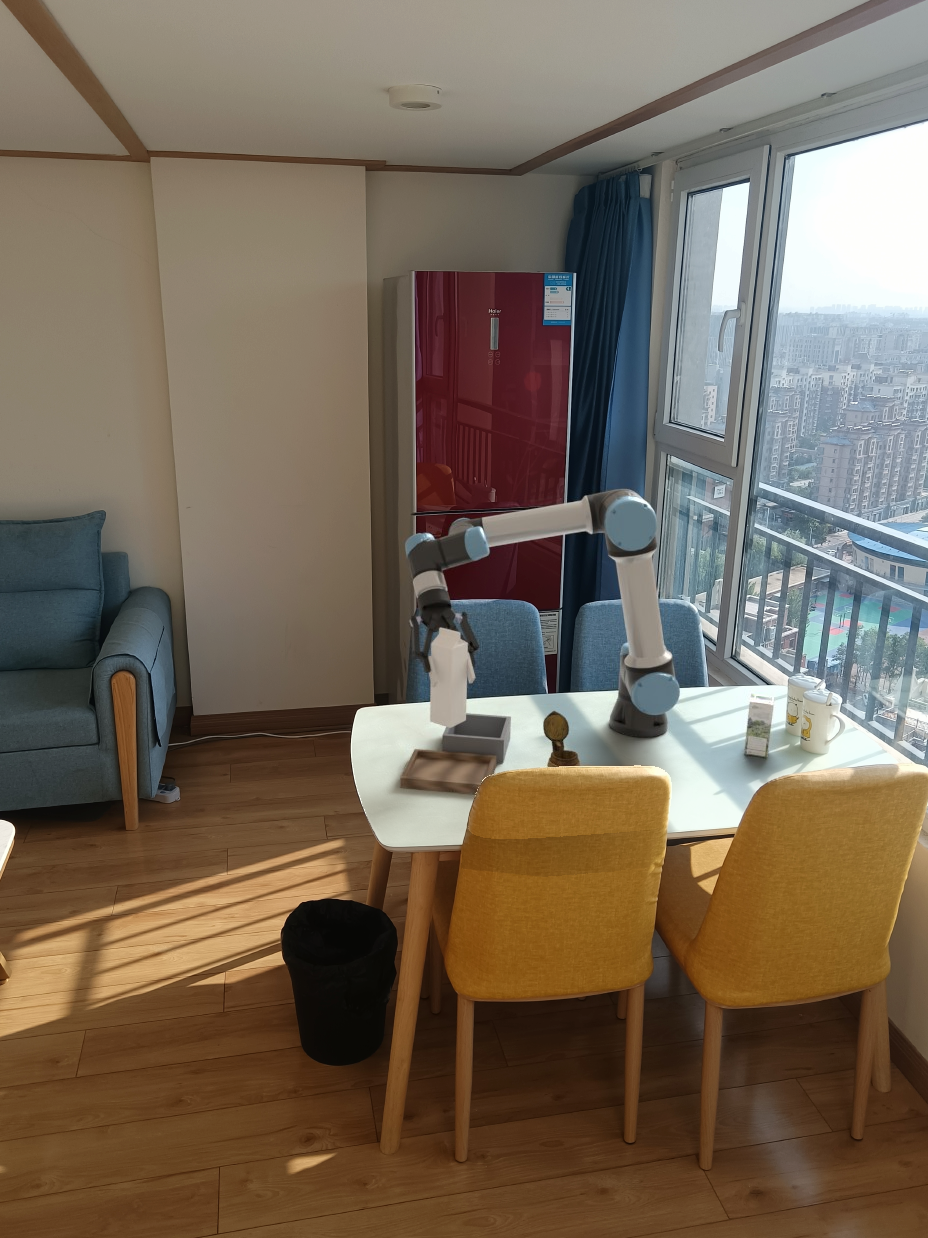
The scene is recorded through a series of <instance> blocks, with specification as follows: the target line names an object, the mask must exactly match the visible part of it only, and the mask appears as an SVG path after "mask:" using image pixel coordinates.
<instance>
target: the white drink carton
mask: <svg viewBox="0 0 928 1238" xmlns="http://www.w3.org/2000/svg"><path fill="white" fill-rule="evenodd" d="M774 703H775V697H774V696H769V695H761V694H753V693H751V694H750V699H749V706H748V714H747V722H746V724H747V725H746V730H745V731H746V733H745V740H744V751H743V752H744V753H743V754H744V755H746V756H752V757H753V756H754V757H760V758H768V756H769V755H768V754H769V748H770V747H769V746H770V741H771V740H770V738H771V729H772V723H773V722H772V721H773V716H774V715H773V713H774Z"/></svg>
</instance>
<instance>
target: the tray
mask: <svg viewBox="0 0 928 1238" xmlns="http://www.w3.org/2000/svg"><path fill="white" fill-rule="evenodd" d="M496 760H497V756H495V755H483V754H470V753H458V752H446V751H442V750H433V749H420V748H414V749H413V752H412V753H411V756H410V757H409V760H408V762H407V764H406V765H405V768H404V770H403V771H402V774H401V775H400V780H399V783H400V788H401V789H411V790H422V791H423V790H424V791H435V792H442V793H443V792H444V793H456V794H468V793H469V794H468V795H476V794H475V793H476V792H477V789H478V787H479V786H480V784H481V782H482V780H483V779H484V778H485V777H487V776H489V775H492V774H494V775H495V771H496V767H497V763H496ZM470 793H472V794H470Z"/></svg>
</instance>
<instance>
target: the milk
mask: <svg viewBox="0 0 928 1238" xmlns="http://www.w3.org/2000/svg"><path fill="white" fill-rule="evenodd" d="M460 633H461V631H459V632H457V631H453V630H449V629H445V628H439V631H438V634H437V636H436V637H435V638H434V639H433V640H432V641H431V644H430V656H432V658H433V663H434V667H435V671H436V675H437V679H438V683H437V685H436V687H432V685H431V684H430V694H429V696H430V699H429V700H430V704H429V705H430V708H429V710H430V713H429V715H430V716H429V721H430V723H433V724H438V725H440V726H442V727H445V728H446V727H449V728H451V727H453V726H455V725H457V724H459V723H461V722H463V721H465V720H466V713H467V698H468V697H467V693H468V691H467V690H468V689H467V688H468V677H467V655H468V643H467V642H465V641H463V640H462V639H460Z"/></svg>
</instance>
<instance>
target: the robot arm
mask: <svg viewBox="0 0 928 1238" xmlns="http://www.w3.org/2000/svg"><path fill="white" fill-rule="evenodd" d="M657 530H658V519H657V515H656V512H655V510H654V509H653V507H652V506H651V504H650V502H647V501H646V499H644V498H642V496H641V495H640V494H639V493H637V492H635V491H634V490H631V489H629V488H619V489H618V488H617V489H612V490H608V491H603V492H597V493H592V494H588V495H584V496H583V497H582V499H581V500H577V501H573V502H565V503H560V504H553V505H548V506H547V505H546V506H542V507H537V508H536V507H535V508H531V509H525V510H518V511H513V512H507V513H501V514H496V515H490V516H484V517H479V518H474V519H473V518H472V519H470V518H467V517H466V518H465V517H462V518H458V519H456V520H455V521H453V522H452V523H451V525H450V527H449V529H448V535H446V536H443V537H440V538H435V537H434V536H433V534H431V533H429V532H423V533H420V532H419V533H415V534H413V535H411V536H410V537H408V538H407V539H406V541H405V544H404V547H405V549H404V550H405V554H406V562H407V564H408V568H409V573H410V576H411V577H410V578H411V580H412V583H413V589H414V592H415V597H416V602H417V606H418V610H419V616H415V615H411V617H410V619H409V622H408V625H409V627H410V630H411V651H412V652H411V654H412V655H411V658H412V659H414V660H419V662H420V663H422V667H423V671H424V673H425V674H428V675H429V680H430V686H431V685H432V687H436V685H437V683H438V679H437V675H436V671H435V667H434V663H433V658H432V656H431V655H429V652H430V650H431V643H432V641H433V635H434V633H439V628H445V629H449V630H453V631H457V632H460V631H459V629H458V627H457V625H456V623H455V622H454V620H456V621H457V623H458V624H459V625H460V629H461V631H462V633H463V635H462V633H461V632H460V639H462V640H463V641H465V642H467V643H468V655H467V681H468V684H473V683H474V682H475V679H476V675H475V671H474V668H475V666H476V660H475V656H474V654H477V653H478V651H479V649H480V644H479V642H478V639H477V638H476V636H475V633H474V631H473V629H472V627H471V625H470V623H469V621H468V620H469V619H468V613H467V612H466V611H462V612H461V613H458V612H457V613H456V611H454V609H453V607H452V603H451V599H450V596H449V595H450V594H449V592H448V586H447V582H446V579H445V575H444V572H443V571H444V570H448V569H450V568H454V567H458V566H460V565H465V564H467V563H471V562H475V561H478V560H481V559H483V558H485V557H487V556H489V555H490V548H491V547H496V546H497V547H498V546H502V545H508V544H509V545H510V544H515V543H521V542H526V541H527V542H528V541H532V540H539V539H544V538H549V537H550V538H551V537H556V536H563V535H570V534H575V533H581V532H586V533H588V534H590V535H593V534H598V533H601V534H603V533H604V535H605V542H606V549H607V555H608V557H610V558H611V559H612V560H614V562H615V565H616V566H615V567H616V572H617V579H618V580H617V581H618V586H619V591H620V599H621V600H620V601H621V607H622V612H623V618H624V619H623V620H624V626H625V633H626V638H627V639H626V640H627V642H625V643H623V644H622V646H621V648H620V649H621V650H620V652H619V656H620V660H619V675H618V676H619V677H618V689H617V690H618V692H617V693H618V694H617V699H616V701H615V703H614V704H613V705H614V706H613V707H612V710H611V713H610V715H609V727H610V728H611V729H612V730H614V732H615V731H616V732H617V733H620V734H623V735H625V736H630V737H635V738H651V737H657V736H661V735H663V734H664V733H665V732H667V730H668V725H669V724H668V723H669V720H668V717H667V712H669V711H671V710H672V709H673V708H674V707H675V706H676V705H677V703H678V701H679V700H680V696H681V689H680V688H681V687H680V684H679V682H678V680H677V678H676V674H675V667H674V661H673V659H674V658H673V654H672V652H670V651H669V650H667V647H666V645H665V642H664V634H663V626H662V621H661V613H660V605H659V604H660V603H659V598H658V592H657V590H658V589H657V584H656V583H657V582H656V576H655V575H656V574H655V569H654V568H655V567H654V562H653V555H654V553H655V552H656V551H657V550H658V542H657V535H656V534H657ZM421 624H423V625H424V626H425V627H426V633H425V637H424V642H423V646H422V651H421V649H420V648H421V647H420V646H421V643H420V625H421Z"/></svg>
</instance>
